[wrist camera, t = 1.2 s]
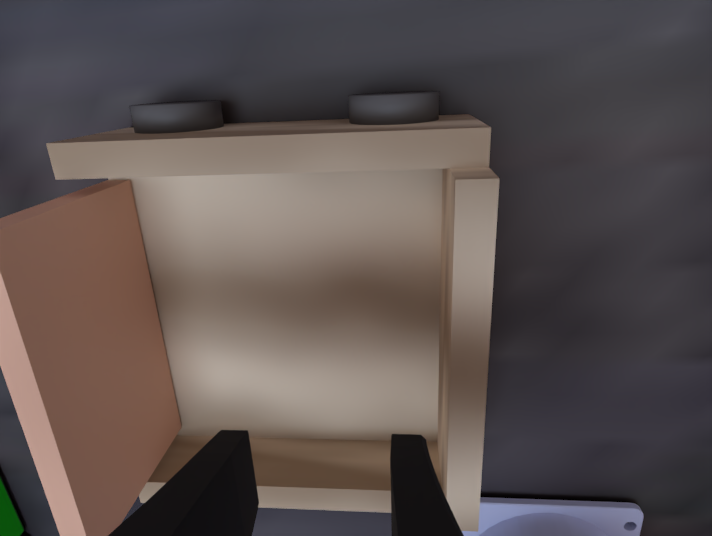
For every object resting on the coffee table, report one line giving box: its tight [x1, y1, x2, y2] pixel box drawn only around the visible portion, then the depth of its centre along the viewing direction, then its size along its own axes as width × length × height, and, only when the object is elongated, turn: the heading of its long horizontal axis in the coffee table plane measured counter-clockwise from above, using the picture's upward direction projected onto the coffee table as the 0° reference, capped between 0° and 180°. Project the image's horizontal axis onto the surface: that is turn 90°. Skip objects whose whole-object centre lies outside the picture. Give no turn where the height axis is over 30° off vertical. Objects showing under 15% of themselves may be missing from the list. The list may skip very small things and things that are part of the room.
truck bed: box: [46, 91, 500, 532], centre depth 17 cm, size 15×12×6 cm
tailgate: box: [0, 180, 181, 536], centre depth 15 cm, size 1×10×6 cm, turn 2°
